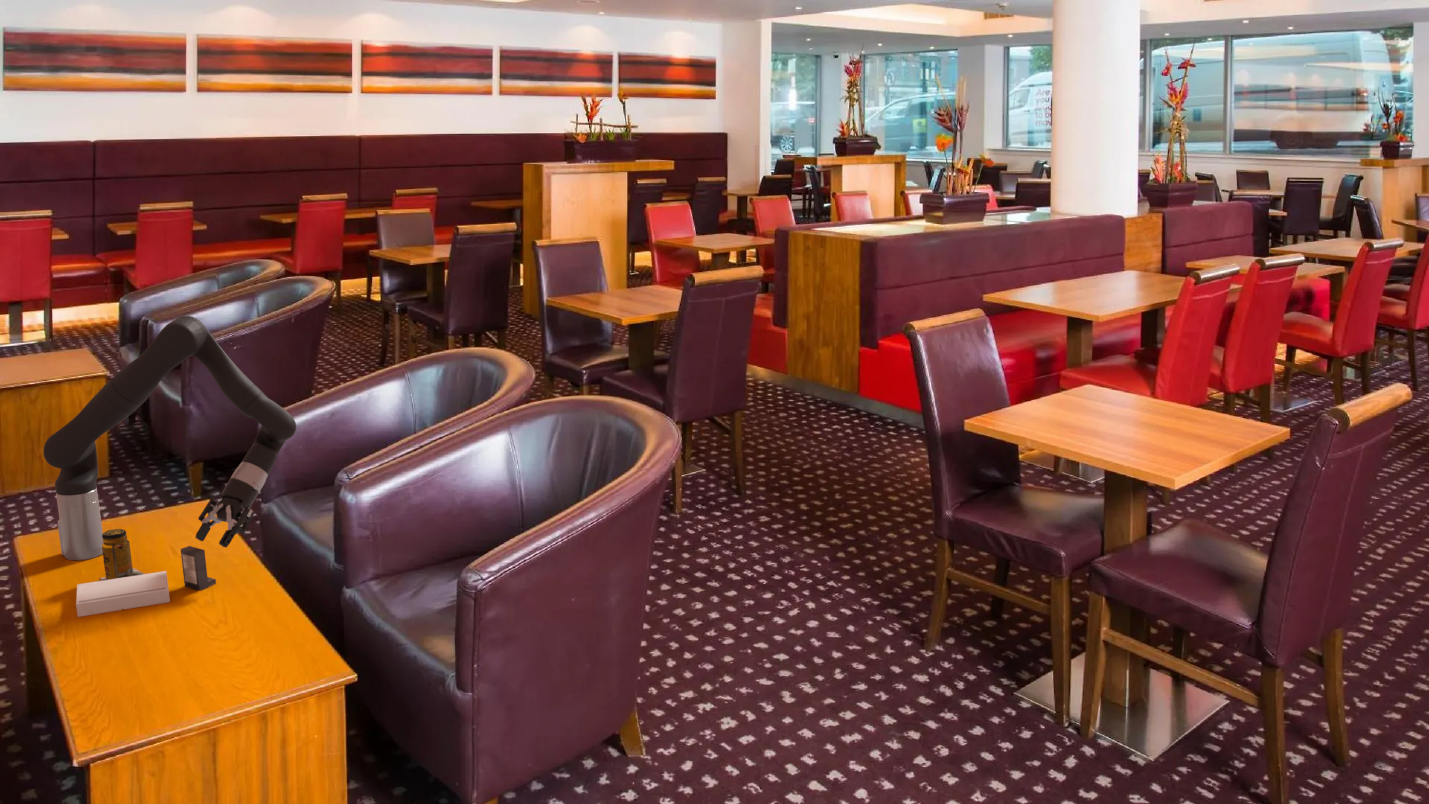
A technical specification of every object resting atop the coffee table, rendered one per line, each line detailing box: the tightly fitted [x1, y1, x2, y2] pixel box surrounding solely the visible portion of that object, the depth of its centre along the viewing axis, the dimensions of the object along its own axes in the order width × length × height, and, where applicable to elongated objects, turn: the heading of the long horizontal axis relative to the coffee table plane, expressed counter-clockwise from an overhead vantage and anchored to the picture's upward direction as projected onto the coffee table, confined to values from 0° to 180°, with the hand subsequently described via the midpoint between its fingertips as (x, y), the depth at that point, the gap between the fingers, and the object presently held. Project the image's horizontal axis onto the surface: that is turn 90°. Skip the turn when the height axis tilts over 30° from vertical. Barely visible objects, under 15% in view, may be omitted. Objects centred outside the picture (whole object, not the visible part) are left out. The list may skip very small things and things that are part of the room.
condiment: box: [99, 528, 145, 581], centre depth 293 cm, size 7×8×12 cm
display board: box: [75, 570, 171, 618], centre depth 281 cm, size 19×13×3 cm
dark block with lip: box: [180, 545, 217, 592], centre depth 288 cm, size 6×5×10 cm
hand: (210, 542), depth 290 cm, fingers open, 8 cm apart
